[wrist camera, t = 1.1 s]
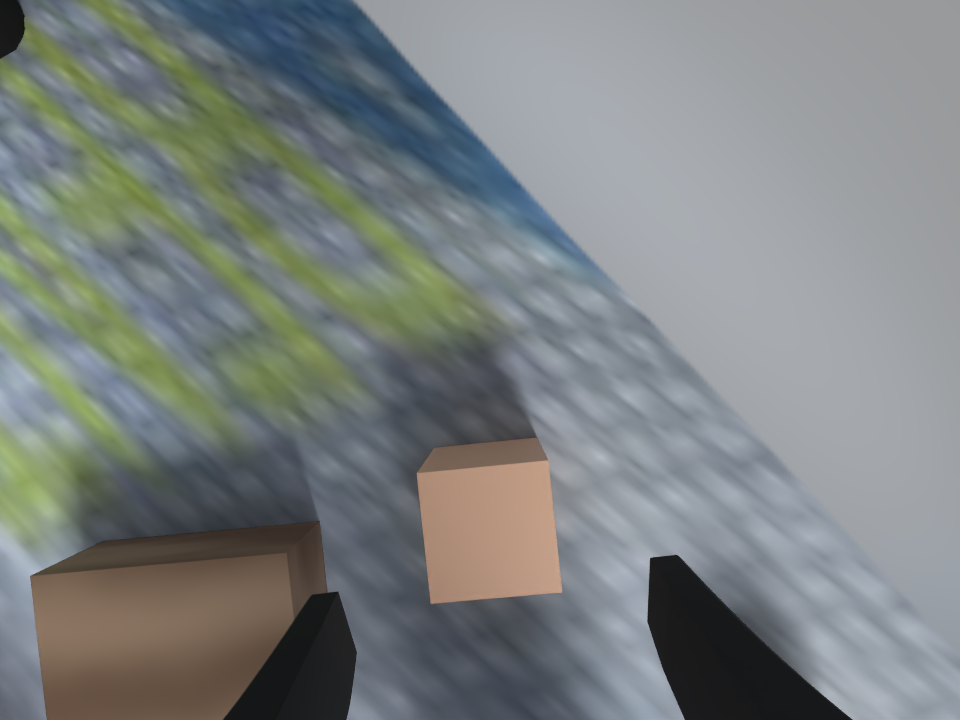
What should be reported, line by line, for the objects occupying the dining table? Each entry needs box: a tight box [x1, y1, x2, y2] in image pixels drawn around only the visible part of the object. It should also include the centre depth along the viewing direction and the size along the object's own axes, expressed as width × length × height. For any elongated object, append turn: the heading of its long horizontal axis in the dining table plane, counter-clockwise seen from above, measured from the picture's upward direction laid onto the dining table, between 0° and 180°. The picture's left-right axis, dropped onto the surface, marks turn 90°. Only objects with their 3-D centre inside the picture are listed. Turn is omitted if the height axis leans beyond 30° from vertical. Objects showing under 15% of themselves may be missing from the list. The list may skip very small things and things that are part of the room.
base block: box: [30, 521, 327, 720], centre depth 22 cm, size 11×11×4 cm
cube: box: [417, 437, 562, 604], centre depth 20 cm, size 5×5×5 cm
